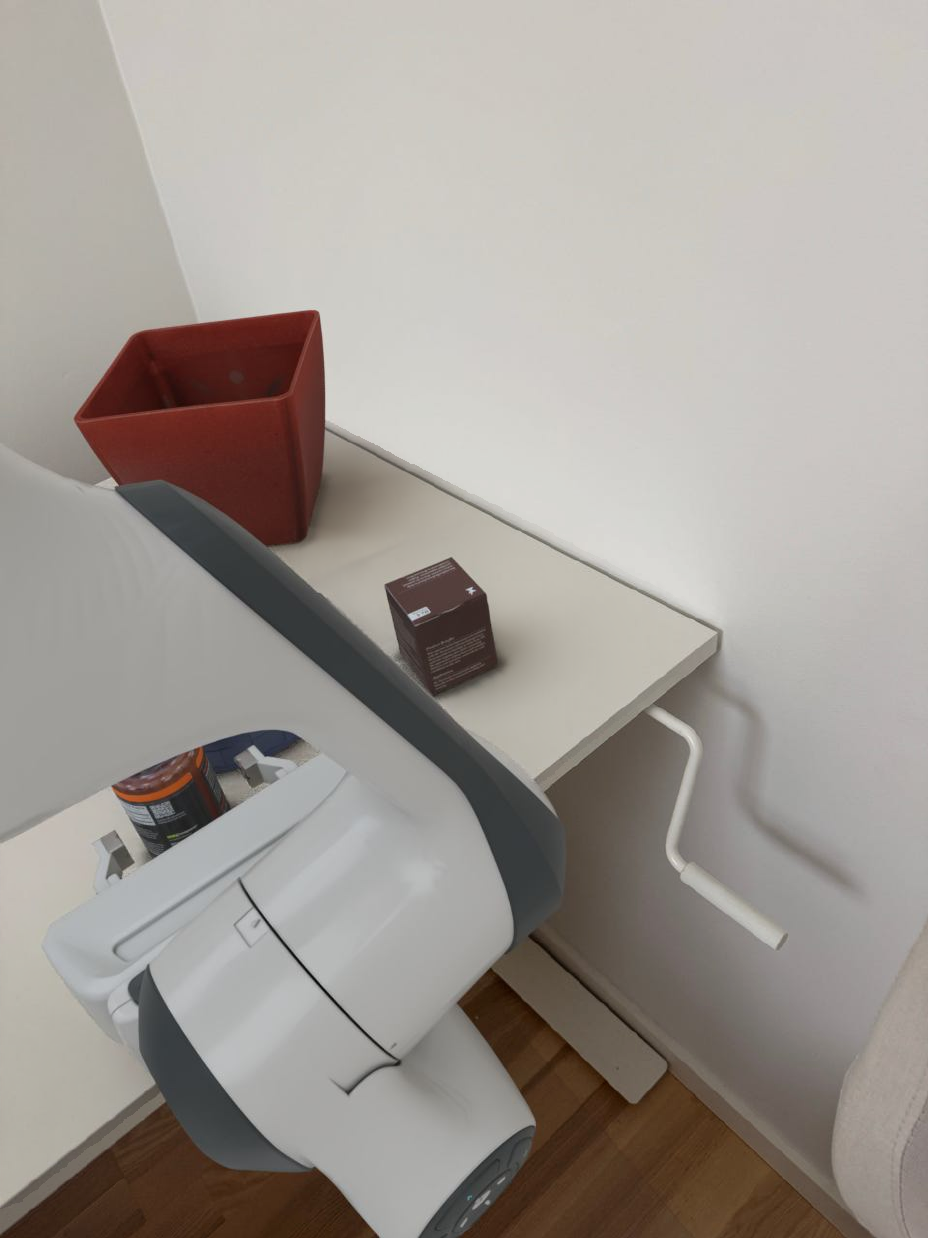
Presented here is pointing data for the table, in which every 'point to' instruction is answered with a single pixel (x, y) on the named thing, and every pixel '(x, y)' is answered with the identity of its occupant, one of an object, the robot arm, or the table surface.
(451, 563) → the box
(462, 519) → the table surface
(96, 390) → the flower pot
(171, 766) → the supplement bottle
